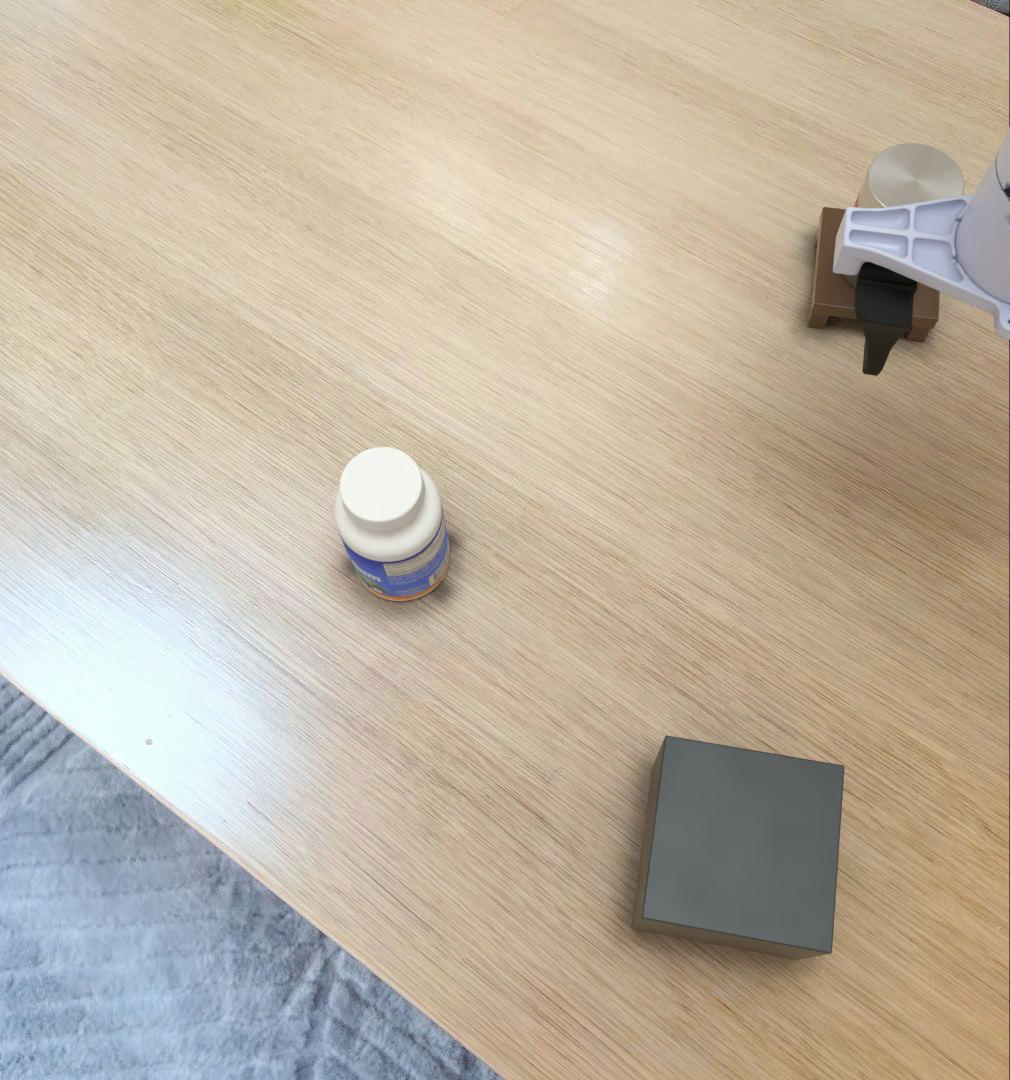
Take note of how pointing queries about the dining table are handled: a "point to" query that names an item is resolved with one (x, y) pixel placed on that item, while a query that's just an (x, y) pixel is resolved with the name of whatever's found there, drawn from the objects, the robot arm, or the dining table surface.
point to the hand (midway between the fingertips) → (953, 368)
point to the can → (908, 179)
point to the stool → (839, 295)
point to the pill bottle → (392, 524)
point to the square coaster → (741, 849)
